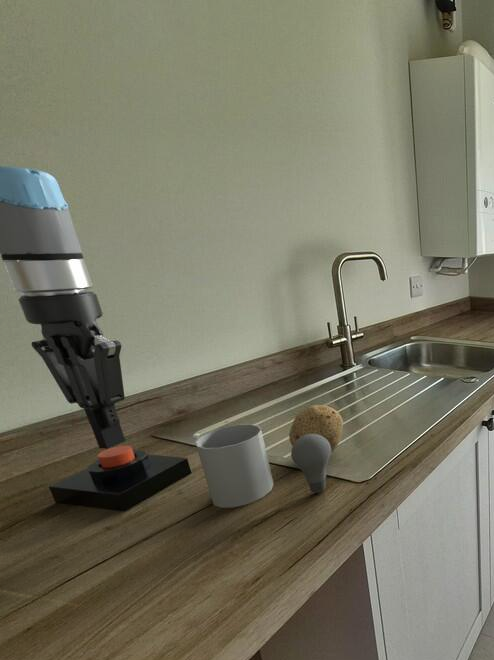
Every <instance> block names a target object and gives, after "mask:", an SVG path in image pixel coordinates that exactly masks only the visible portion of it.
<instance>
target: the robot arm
mask: <svg viewBox="0 0 494 660" xmlns="http://www.w3.org/2000/svg"><path fill="white" fill-rule="evenodd" d="M0 258H1V259H2V263H3V265H4V268H5V270H6V272H7V275H8V278H9V280H10V283H11V286H12V288H13V291H15V292H17V293H21V294H22V295H21V296H19V298H18V300H17V301H18V303H19V305H20V308H21V311H22V312H23V315H24V319H25V320H26V322H27V323H29V324H33V325H40V327H41V330H40V331H41V332H40V333H41V335H42V338H41V339H40V340H36V341H32V342H31V348H32V349H34V350H35V352H36V353H37V354H38V355H39V356H40V357H41V359H42V361H43V362H44V364H45V365H46V367H47V369H48V370H49V372H50V374H51V375H52V377H53V379H54V381H55V382H56V384H57V386H58V388H59V389H60V391H61V393H62V394H63V396H64V397H65V399H66V401H67V402H68V403H69V404H71V405H72V404H77V405H78V407H79V408H80V409H83V410H84V412H85V414H86V417H87V420H88V423H89V425H90V428H91V430H92V432H93V435H94V438H95V440H96V443H97V446H98V448H99V449H105V450H107V449H110V448H114V447H116V446H117V445H118V446H119V444H122V443H124V442H126V438H125V435H124V432H123V429H122V427H121V424H120V423H121V422H120V421H121V420H120V418H119V416H118V412H117V409H116V406H115V405H116V404H117V403H119V402H122V401H124V400H125V399H126V398H125V390H124V389H125V388H124V381H123V374H122V373H123V372H122V366H121V365H122V364H121V360H120V359H121V357H120V355H121V351H122V350H121V349H122V343H121V342H120V341H119V340H118V339H117V340H116V339H115V340H111V341H110V340H109V339H108V338H106V337H104V333H103V331H102V328H100V327H99V326H98V323H97V320H98V319H100V318H102V316H103V313H104V312H103V310H102V307H101V304H100V301H99V298H98V296H97V293H95V292H94V291H89V289H91V288H93V282H92V279H91V276H90V274H89V270H88V267H87V265H86V261H85V259H84V255H83V251H82V248H81V244H80V241H79V238H78V235H77V232H76V228H75V226H74V223H73V220H72V216H71V213H70V210H69V203H67V201H66V200H65V198H64V196H63V193H62V190H61V189H60V185H59V183H58V181H57V179H56V178H55V177H54V176H53V175H51V173H48V172H46V171H42V170H38V169H33V168H26V167H19V166H5V165H0Z"/></svg>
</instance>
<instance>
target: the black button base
mask: <svg viewBox="0 0 494 660" xmlns="http://www.w3.org/2000/svg"><path fill="white" fill-rule="evenodd" d="M132 450H133V453H134V456H135V459H134V460H132V461H130V462H128V463H126V464H123V465H119V466H116V467H109V468H102V467H101V464H100V462H99V459H97V460H95V461H93V462H92V463H90V464H89V465H88V466H87V468H86V469H84V470H82V471H79V472H77V473H75V474H73V475H71V476H68V477H66V478H64V479H61V480H60V481H57V482H54V483H52V484H50V485H49V486H48V489H49V491H50V493H51V495H52V498H53V500H54V502H55V504H61V505H68V506H69V505H70V506H75V507H83V508H92V509H100V510H107V511H108V510H109V511H116V512H123V513H125V512H127V511H129V510H130V509H132V508H134V507H136V506H138V505H139V504H141V503H142V502H144V501H146V500H148V499H150V498H151V497H153V496H155V495H156V494H158V493H160V492H162V491H163V490H166V489H167V488H169V487H171V486H172V485H174V484H175V483H177V482H179V481H181V480H183V479H184V478H186V477H188V476H189V475H191V474H192V470H191V466H190V463H189V460H188V459H189V458H187V457H180V456H171V455H170V456H169V455H158V454H148V453H147V452H146V451H145V450H142V449H141V450H140V449H132Z"/></svg>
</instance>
